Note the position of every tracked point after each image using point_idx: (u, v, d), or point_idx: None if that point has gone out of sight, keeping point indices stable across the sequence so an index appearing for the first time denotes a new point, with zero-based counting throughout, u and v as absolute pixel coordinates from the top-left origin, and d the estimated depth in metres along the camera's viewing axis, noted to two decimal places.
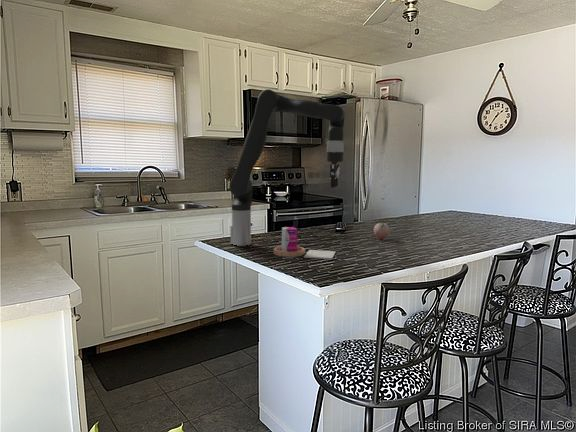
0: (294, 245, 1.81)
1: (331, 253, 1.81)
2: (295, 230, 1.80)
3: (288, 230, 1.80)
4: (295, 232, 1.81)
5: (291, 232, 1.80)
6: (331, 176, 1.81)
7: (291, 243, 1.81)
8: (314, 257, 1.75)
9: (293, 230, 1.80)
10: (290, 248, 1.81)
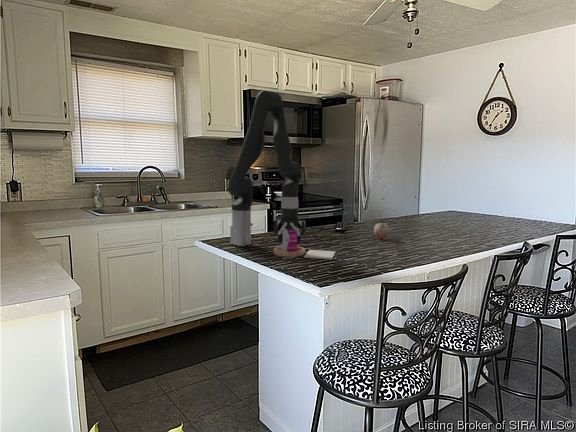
0: (294, 245, 1.81)
1: (331, 253, 1.81)
2: None
3: (288, 230, 1.80)
4: (295, 232, 1.81)
5: (291, 232, 1.80)
6: None
7: (291, 243, 1.81)
8: (314, 257, 1.75)
9: (293, 230, 1.80)
10: (290, 248, 1.81)
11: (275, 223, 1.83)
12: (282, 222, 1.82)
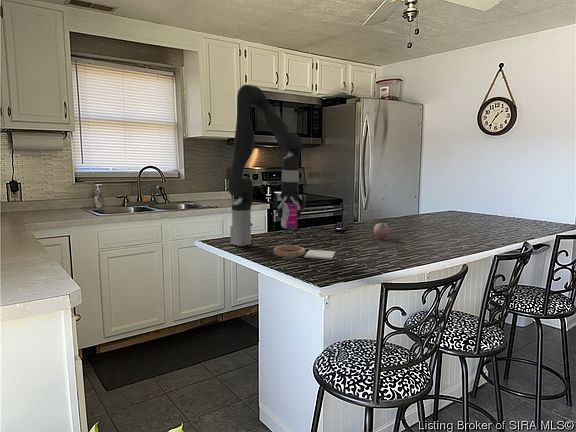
0: (294, 219, 1.80)
1: (331, 253, 1.81)
2: None
3: (288, 204, 1.78)
4: (295, 206, 1.79)
5: (291, 206, 1.79)
6: (304, 207, 1.79)
7: (290, 217, 1.79)
8: (314, 257, 1.75)
9: (293, 204, 1.79)
10: (289, 222, 1.80)
11: (275, 197, 1.81)
12: (282, 196, 1.80)
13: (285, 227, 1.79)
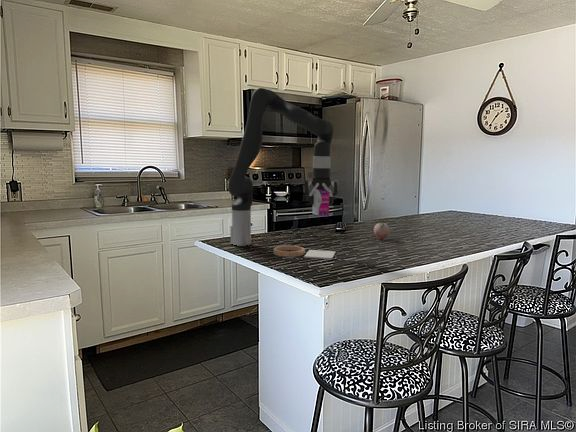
0: (326, 207, 1.76)
1: (331, 253, 1.81)
2: (327, 191, 1.75)
3: (320, 191, 1.74)
4: (327, 193, 1.75)
5: (323, 193, 1.74)
6: (336, 194, 1.75)
7: (323, 205, 1.75)
8: (314, 257, 1.75)
9: (325, 191, 1.75)
10: (322, 210, 1.75)
11: (306, 184, 1.77)
12: (314, 183, 1.76)
13: (317, 214, 1.75)
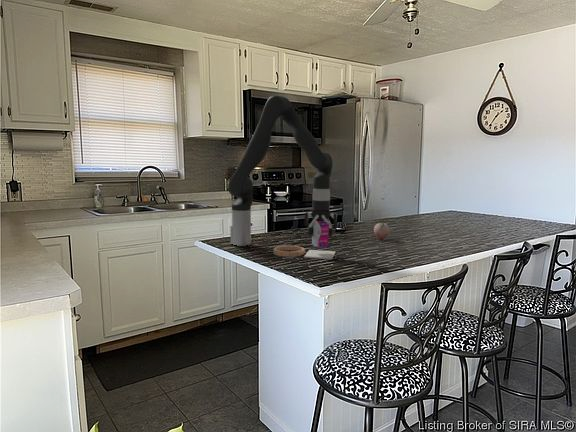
0: (325, 238, 1.78)
1: (331, 253, 1.81)
2: None
3: (320, 223, 1.76)
4: (327, 225, 1.77)
5: (323, 225, 1.76)
6: (336, 225, 1.77)
7: (322, 236, 1.77)
8: (314, 257, 1.75)
9: (325, 223, 1.76)
10: (321, 241, 1.77)
11: (306, 216, 1.79)
12: (313, 215, 1.78)
13: (317, 246, 1.77)
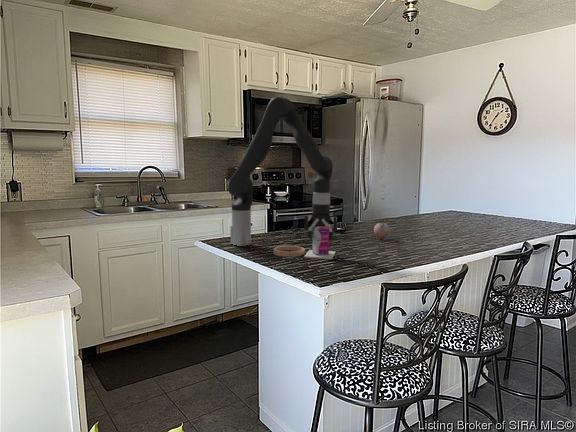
0: (326, 245, 1.78)
1: (331, 253, 1.81)
2: (327, 230, 1.77)
3: (320, 230, 1.76)
4: (327, 232, 1.77)
5: (323, 232, 1.77)
6: (336, 229, 1.77)
7: (322, 244, 1.77)
8: (314, 257, 1.75)
9: (325, 230, 1.77)
10: (321, 249, 1.78)
11: (306, 219, 1.79)
12: (313, 218, 1.78)
13: (317, 253, 1.78)
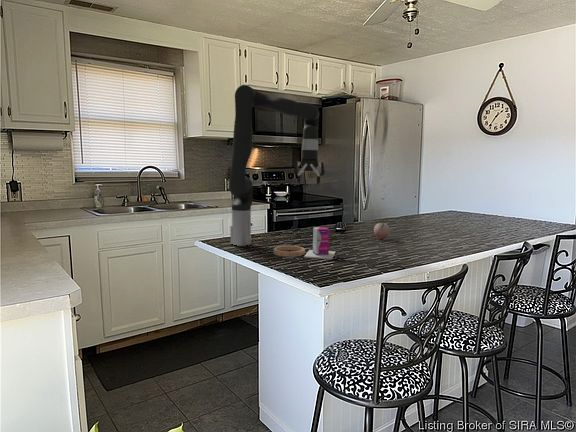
0: (326, 245, 1.78)
1: (331, 253, 1.81)
2: (327, 230, 1.77)
3: (320, 230, 1.76)
4: (327, 232, 1.77)
5: (323, 232, 1.77)
6: (323, 173, 1.91)
7: (322, 244, 1.77)
8: (314, 257, 1.75)
9: (325, 230, 1.77)
10: (321, 249, 1.78)
11: (296, 164, 1.93)
12: (302, 164, 1.92)
13: (317, 253, 1.78)
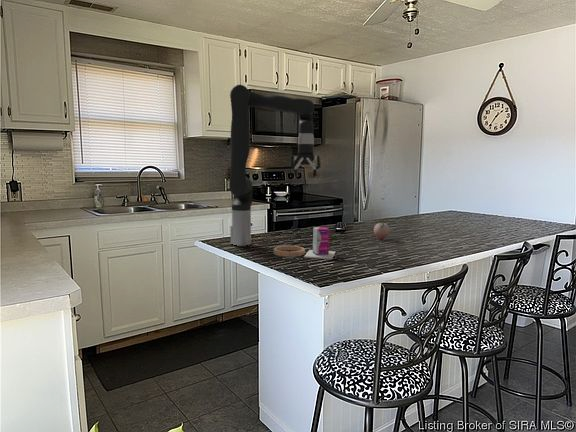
0: (326, 245, 1.78)
1: (331, 253, 1.81)
2: (327, 230, 1.77)
3: (320, 230, 1.76)
4: (327, 232, 1.77)
5: (323, 232, 1.77)
6: (319, 167, 1.96)
7: (322, 244, 1.77)
8: (314, 257, 1.75)
9: (325, 230, 1.77)
10: (321, 249, 1.78)
11: (292, 158, 1.98)
12: (299, 157, 1.97)
13: (317, 253, 1.78)
